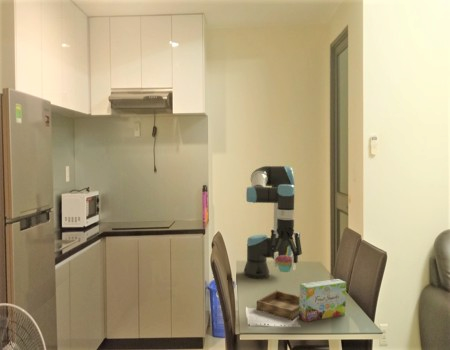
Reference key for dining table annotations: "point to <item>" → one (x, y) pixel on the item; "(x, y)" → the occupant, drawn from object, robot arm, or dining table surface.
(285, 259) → the cupcake
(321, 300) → the snack box
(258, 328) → the dining table surface
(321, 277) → the dining table surface
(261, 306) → the walnut tray
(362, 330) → the dining table surface
